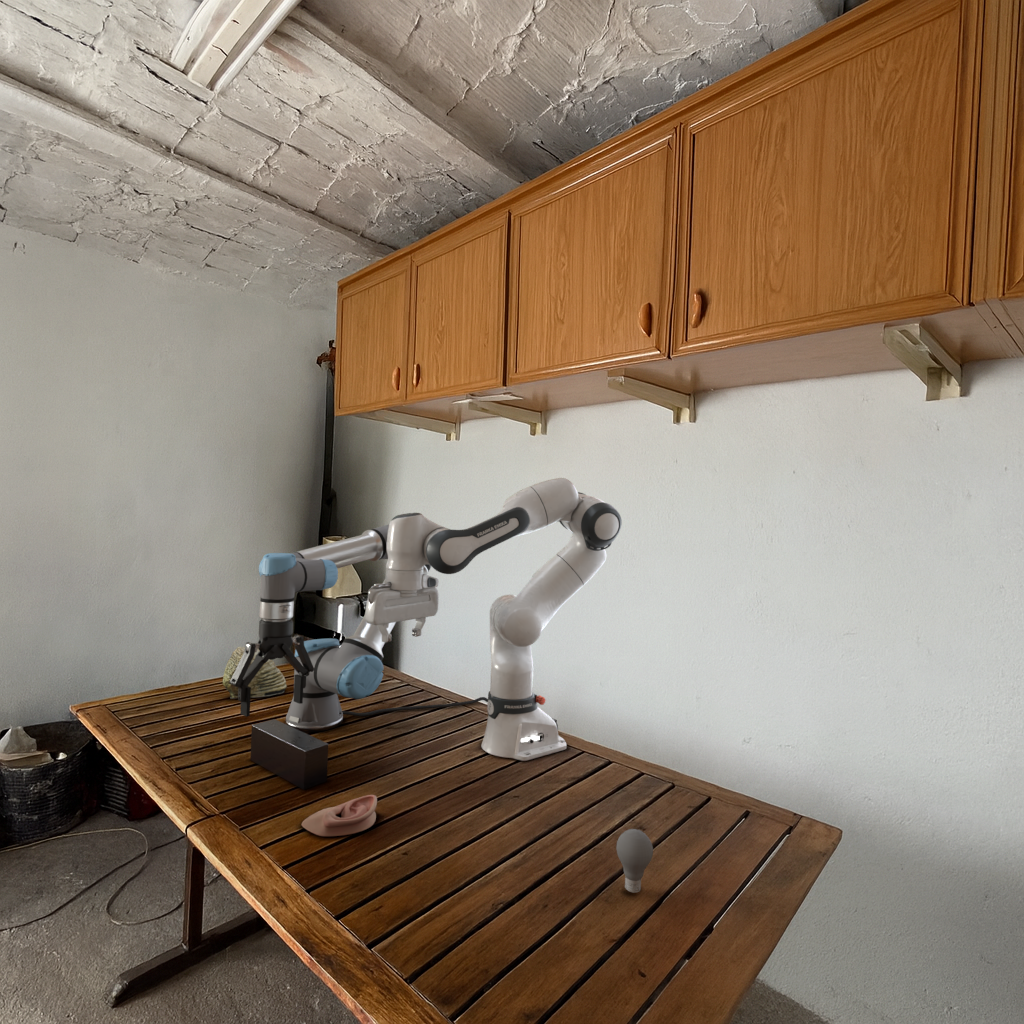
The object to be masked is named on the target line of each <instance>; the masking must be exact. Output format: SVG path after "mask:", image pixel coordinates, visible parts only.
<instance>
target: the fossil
mask: <svg viewBox="0 0 1024 1024" xmlns="http://www.w3.org/2000/svg"><path fill="white" fill-rule="evenodd" d="M244 650H245V646H238V647H237V648H236V649H235V650H233V651H232V653H231V656H230V657H229V659H228V660H227V663H226V666H225V668H224V671H223V675H222V676H223V677H222V685H223V687H224V688H225V690H226V691H228V693H229V698H230V699H238V687H236V686H233V685H231V684H230V680H231V678H232V676H233V674H234V672H235V670H236V668H237V666H238V664H239V662H240V660H241V658H242V656H243V654H244ZM259 651H260V650H259V649H257V652H255V654H254V657H253V659H252V661H251V663H250V665H251V664H252V662H253V661H254V660H255V656H256V655H257V654H258V652H259ZM262 657H264V656H262ZM250 665H249V666H250ZM248 668H249V667H248ZM248 687H251V697H250V699H251V698H264V697H271V696H275V695H281V694H284V693H285V691H286V689H287V687H288V686H287V680H286V678H285V676H284V674H283V673H282V672H281V669H279V668H278V667H277V665H276V663H275V662H274V659H273V660H270V659H269V660H268V661H267V662H266V663H264V664H263V666H262V667H261V669H260V670H259V671H258V673H257V674H256V675H255V677H254V678H253V679H252V681H251V682H250V684H249V685H248Z"/></svg>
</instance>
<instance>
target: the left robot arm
mask: <svg viewBox="0 0 1024 1024" xmlns="http://www.w3.org/2000/svg"><path fill="white" fill-rule="evenodd" d="M388 528H389V524H384V525H381V526H378V527H373V528H369V529H366V530H364V531H363V532H362V533H361V534H360V535H356V536H353V537H349V538H344V539H341V540H337V541H332V542H329V543H325V544H321V545H317V546H313V547H309V548H305V549H301V550H297V551H293V552H290V553H288V552H270V553H266V554H264V555H263V557H262V559H261V560H260V562H259V565H258V574H259V577H260V594H259V595H260V599H259V614H258V615H259V618H260V620H259V621H258V642H250V641H247V642H245V644H244V647H245V650H244V654H243V656H242V658H241V660H240V662H239V664H238V666H237V668H236V670H235V672H234V674H233V676H232V678H231V680H230V684H231V685H233V686H236V687H238V698H237V701H238V702H240V715H242V716H244V717H245V718H246V717H247V718H248V717H250V716H251V698H250V697H251V687H248V685H249V684H250V682H251V681H252V679H253V678H254V677H255V675H256V674H257V673H258V671H259V670H260V669H261V667H262V666H263V664H264V663H266V662H267V661H268V660H269V659H270V660H273V661H274V660H276V659H283V658H285V660H286V661H287V662H288V663H289V665H291V667H292V668H293V669H294V670H293V671H294V672H293V695H292V696H293V697H292V699H291V702H290V704H289V708H288V711H287V713H286V715H285V724H286V725H288V726H291V727H293V728H295V729H297V730H299V731H302V732H304V733H316V732H325V731H329V730H332V729H335V728H337V727H339V726H340V725H342V723H343V722H344V715H345V716H353V717H368V716H373V715H377V714H382V713H389V712H402V711H412V710H413V711H414V710H415V711H416V710H428V709H441V708H442V709H443V708H451V707H459V706H466V705H472V704H476V703H478V702H481V701H484V702H486V703H488V697H485V696H481V697H477V698H475V699H472V700H465V701H459V702H452V703H440V704H431V705H430V704H428V705H413V706H412V705H411V706H400V707H398V706H397V707H388V708H380V709H377V710H371V711H367V712H355V711H349V710H348V711H346V710H343V709H342V706H341V702H340V699H339V695H340V696H341V697H343V698H348V699H354V700H362V699H365V698H367V697H370V695H372V694H373V693H374V692H375V691H377V689H378V687H379V686H380V684H381V683H382V680H383V677H384V672H383V671H384V663H383V660H384V654H383V647H384V645H385V644H386V643H385V642H382V634H381V632H380V630H379V628H378V625H372V624H369V623H367V622H366V620H365V614H364V616H363V617H362V619H361V620H360V623H359V625H358V626H357V628H356V629H355V632H354V633H353V634H352V635H350V636H346V637H345V638H344V640H343V641H342V643H340V641H339V639H337V638H331V637H329V638H317V639H316V638H315V639H308V640H305V638H304V637H303V636H301V635H298V634H295V635H294V636H292V635H293V632H294V620H293V619H292V618H293V617H294V604H295V593H299V592H300V593H301V592H310V591H311V592H312V591H323V590H328V589H331V588H333V587H335V585H336V584H337V582H338V578H339V577H338V576H339V569H341V568H344V567H345V568H346V567H348V566H350V565H355V564H358V563H361V562H364V561H371V562H376V561H381V560H388V554H387V535H388ZM431 568H432V566H431V565H430V564H426V565H424V567H423V574H426V575H428V574H429V572H430V571H431ZM382 583H385V579H384V580H383V582H382ZM396 623H397V622H393V623H389V627H388V628H387V631H388V633H389V634H391V632H392V630H393V629H394V627H395V625H396ZM292 645H293V646H294V649H295V650H294V651H295V652H294V653H293V651H292V650H291V647H292ZM257 649H259V650H260V651H259V652H258V654H257V655H256V656H255V660H254V661H253V662H252V664H251V665H250V663H251V661H252V659H253V657H254V654H255V652H257ZM262 656H264V657H262ZM249 665H250V666H249ZM248 667H249V668H248Z"/></svg>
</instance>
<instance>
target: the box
mask: <svg viewBox="0 0 1024 1024" xmlns="http://www.w3.org/2000/svg"><path fill="white" fill-rule="evenodd" d="M250 733H251V735H250V736H251V737H250V759H249V760H250V761H251V762H253V763H255V764H256V765H258V766H260V767H262V768H264V769H266V770H267V771H269V772H271V773H273V774H274V775H276V776H278V777H280V778H282V779H283V780H285V781H287V782H288V783H290V784H292V785H295V786H296V787H298V788H299V789H301V790H307V789H309V788H313V787H315V786H318V785H321V784H323V783H326V782H328V768H329V767H328V765H329V743H327V742H325V741H324V740H322V739H319V738H316V737H314V736H313V735H310V734H309V733H307V732H302V731H299V730H297V729H295V728H293V727H291V726H288V725H286V723H284V722H282V721H279V720H277V719H275V718H274V719H269V720H266V721H262V722H259V723H255V724H251V732H250Z"/></svg>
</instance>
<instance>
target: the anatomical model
mask: <svg viewBox="0 0 1024 1024" xmlns="http://www.w3.org/2000/svg"><path fill="white" fill-rule="evenodd" d="M377 805H378V797H377V795H376V794H367V795H363V796H360V797H357V798H353V799H351V800H348V801H346V802H343V803H341V804H338V805H336V806H332V807H325V808H323V809H321V810H319V811H316V812H314V813H312V814H310V815H309V816H308V817H306V818H305V819H304V820H303V821H302V822H301V827H302V828H303V829H304V830H306V831H307V832H310V833H312V834H314V835H316V836H319V837H337V836H339V837H341V836H347V835H352V834H357V833H360V832H363V831H365V830H367V829H369V828H371V827H372V826H373V825H374V824H375V822H376V818H377V813H376V809H377Z"/></svg>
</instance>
